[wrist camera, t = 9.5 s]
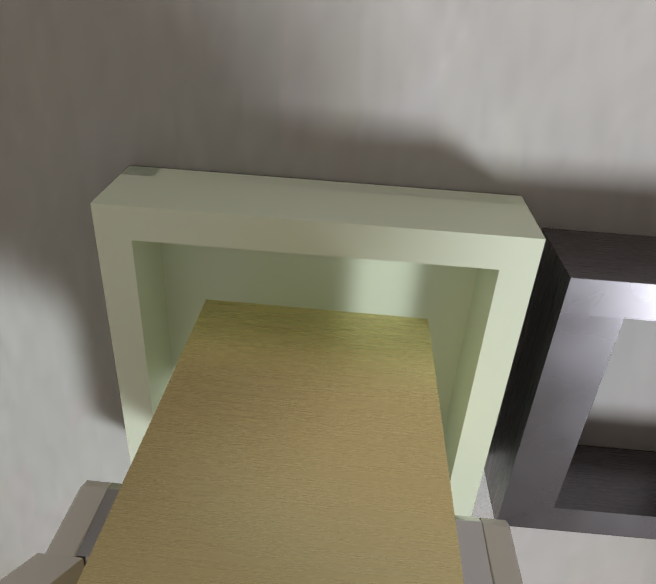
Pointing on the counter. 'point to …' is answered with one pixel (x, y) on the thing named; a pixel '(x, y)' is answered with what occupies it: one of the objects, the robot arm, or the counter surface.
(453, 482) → the tray
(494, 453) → the dark grey flat frame
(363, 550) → the tan rectangular block
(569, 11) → the counter surface
